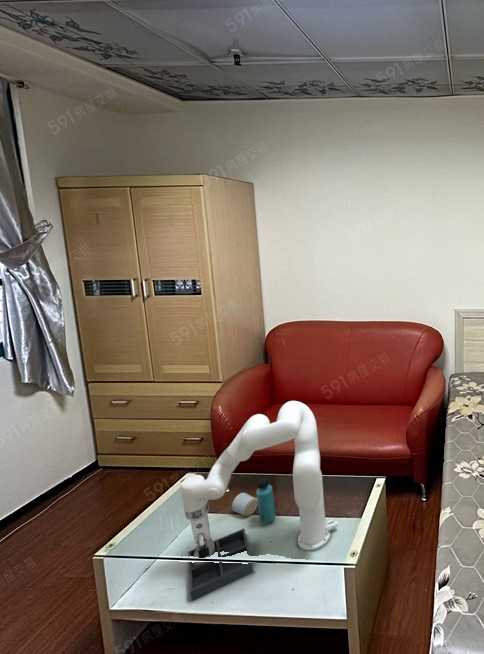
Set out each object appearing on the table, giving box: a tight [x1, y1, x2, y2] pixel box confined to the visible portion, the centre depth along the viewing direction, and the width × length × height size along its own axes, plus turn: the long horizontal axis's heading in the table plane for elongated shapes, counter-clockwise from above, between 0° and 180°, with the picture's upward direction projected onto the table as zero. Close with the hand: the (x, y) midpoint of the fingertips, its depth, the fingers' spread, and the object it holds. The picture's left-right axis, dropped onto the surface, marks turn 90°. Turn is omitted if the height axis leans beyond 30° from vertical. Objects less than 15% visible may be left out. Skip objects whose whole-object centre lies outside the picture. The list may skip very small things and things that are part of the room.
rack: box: [187, 528, 254, 602], centre depth 153 cm, size 19×19×4 cm
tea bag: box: [193, 536, 215, 567], centre depth 154 cm, size 4×7×10 cm, turn 179°
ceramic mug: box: [231, 492, 258, 517], centre depth 180 cm, size 11×8×8 cm
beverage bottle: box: [255, 477, 277, 524], centre depth 173 cm, size 6×7×20 cm
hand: (203, 547), depth 153 cm, fingers open, 9 cm apart
